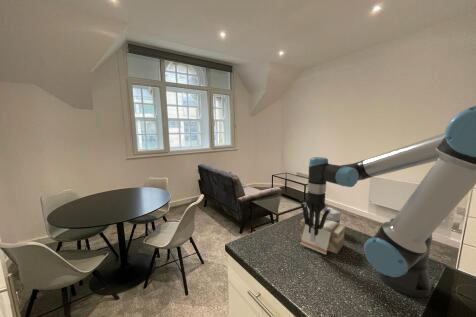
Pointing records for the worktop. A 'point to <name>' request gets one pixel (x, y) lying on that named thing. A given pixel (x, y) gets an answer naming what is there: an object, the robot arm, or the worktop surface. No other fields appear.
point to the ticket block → (336, 234)
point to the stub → (320, 241)
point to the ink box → (333, 215)
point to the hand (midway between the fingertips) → (312, 240)
